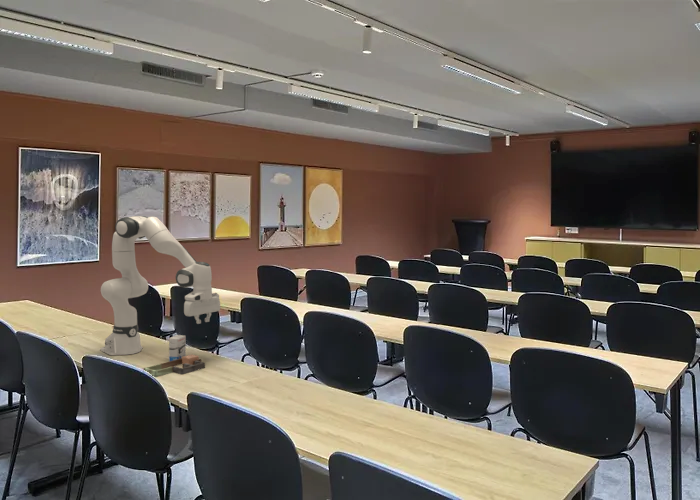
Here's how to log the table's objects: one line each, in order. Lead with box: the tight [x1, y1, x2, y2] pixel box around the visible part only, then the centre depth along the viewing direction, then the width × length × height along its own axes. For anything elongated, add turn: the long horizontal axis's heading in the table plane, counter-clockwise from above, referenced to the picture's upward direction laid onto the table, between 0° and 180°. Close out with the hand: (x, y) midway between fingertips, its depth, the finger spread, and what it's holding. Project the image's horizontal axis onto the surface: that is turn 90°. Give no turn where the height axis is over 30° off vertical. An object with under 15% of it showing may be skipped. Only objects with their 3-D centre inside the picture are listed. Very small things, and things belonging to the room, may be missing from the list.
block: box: [181, 353, 200, 366], centre depth 282 cm, size 5×6×4 cm
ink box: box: [168, 334, 187, 362], centre depth 288 cm, size 8×5×12 cm, turn 168°
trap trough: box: [143, 358, 206, 378], centre depth 272 cm, size 15×26×2 cm, turn 145°
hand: (202, 322), depth 287 cm, fingers open, 4 cm apart
